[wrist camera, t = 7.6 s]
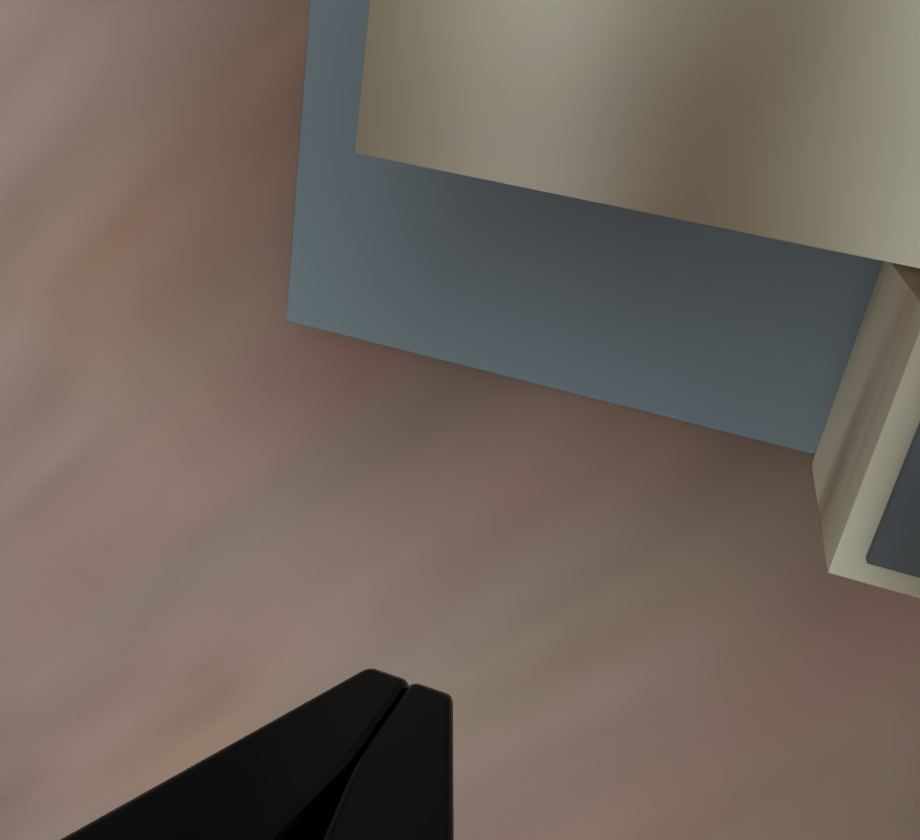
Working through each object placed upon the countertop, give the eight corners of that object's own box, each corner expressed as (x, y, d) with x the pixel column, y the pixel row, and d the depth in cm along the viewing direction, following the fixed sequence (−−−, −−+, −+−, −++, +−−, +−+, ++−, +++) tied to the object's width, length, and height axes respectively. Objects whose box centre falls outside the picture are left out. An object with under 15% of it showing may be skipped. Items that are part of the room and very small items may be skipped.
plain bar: (1172, -14, 14) (1315, -44, 11) (1054, 260, 16) (1141, 313, 12) (464, -108, 17) (386, -157, 13) (431, 138, 18) (354, 152, 15)
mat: (1486, -370, 12) (1509, -385, 12) (1057, 509, 18) (1063, 517, 17) (353, -428, 16) (343, -440, 15) (294, 316, 21) (286, 320, 21)
